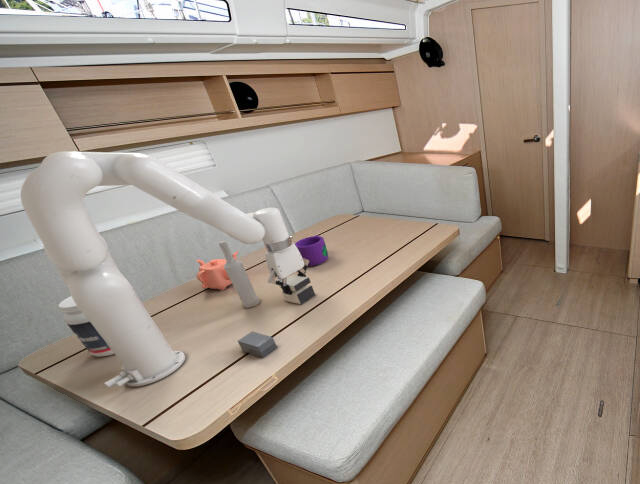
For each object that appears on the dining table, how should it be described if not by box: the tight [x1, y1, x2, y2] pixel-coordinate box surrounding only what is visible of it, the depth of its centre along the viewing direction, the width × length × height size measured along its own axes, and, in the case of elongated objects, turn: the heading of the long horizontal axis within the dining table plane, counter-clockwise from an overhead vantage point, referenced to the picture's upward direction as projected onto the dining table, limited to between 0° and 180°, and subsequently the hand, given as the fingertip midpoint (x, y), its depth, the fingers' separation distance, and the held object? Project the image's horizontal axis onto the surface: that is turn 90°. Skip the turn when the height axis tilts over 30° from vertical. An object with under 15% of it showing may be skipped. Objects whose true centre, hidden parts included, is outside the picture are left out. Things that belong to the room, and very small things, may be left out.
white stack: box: [281, 284, 316, 305], centre depth 127 cm, size 6×8×4 cm
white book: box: [278, 274, 311, 291], centre depth 125 cm, size 6×8×2 cm
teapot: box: [195, 250, 240, 291], centre depth 139 cm, size 14×14×11 cm
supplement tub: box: [58, 295, 115, 357], centre depth 107 cm, size 13×13×18 cm
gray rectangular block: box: [237, 331, 278, 358], centre depth 103 cm, size 4×9×4 cm, turn 69°
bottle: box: [217, 240, 261, 309], centre depth 121 cm, size 5×5×25 cm
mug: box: [294, 234, 329, 267], centre depth 154 cm, size 17×11×10 cm, turn 10°
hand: (296, 288), depth 126 cm, fingers closed on white book, 6 cm apart
